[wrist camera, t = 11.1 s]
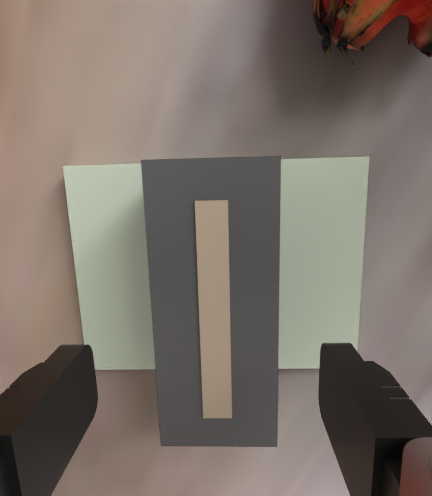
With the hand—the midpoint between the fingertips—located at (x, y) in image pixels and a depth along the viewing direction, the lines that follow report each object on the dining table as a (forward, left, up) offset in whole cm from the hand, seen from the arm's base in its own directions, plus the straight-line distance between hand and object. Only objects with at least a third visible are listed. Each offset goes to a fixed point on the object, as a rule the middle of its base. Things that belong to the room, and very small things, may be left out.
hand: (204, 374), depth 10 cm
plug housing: (0, 0, -10) cm, 10 cm away
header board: (0, 0, -12) cm, 12 cm away
